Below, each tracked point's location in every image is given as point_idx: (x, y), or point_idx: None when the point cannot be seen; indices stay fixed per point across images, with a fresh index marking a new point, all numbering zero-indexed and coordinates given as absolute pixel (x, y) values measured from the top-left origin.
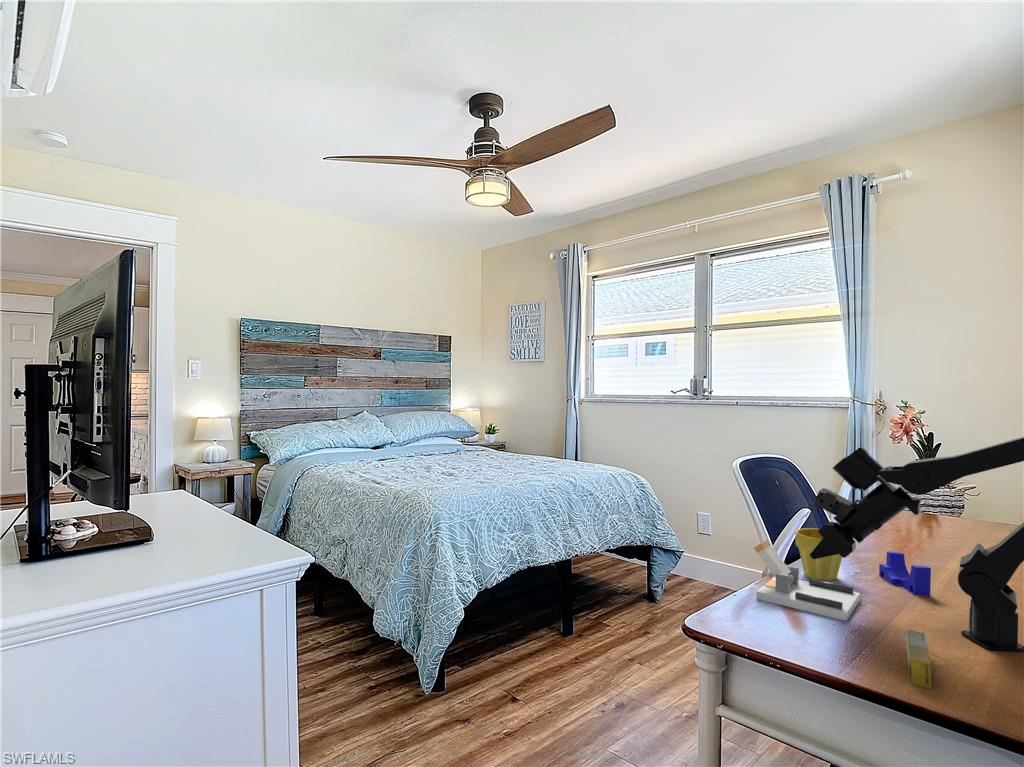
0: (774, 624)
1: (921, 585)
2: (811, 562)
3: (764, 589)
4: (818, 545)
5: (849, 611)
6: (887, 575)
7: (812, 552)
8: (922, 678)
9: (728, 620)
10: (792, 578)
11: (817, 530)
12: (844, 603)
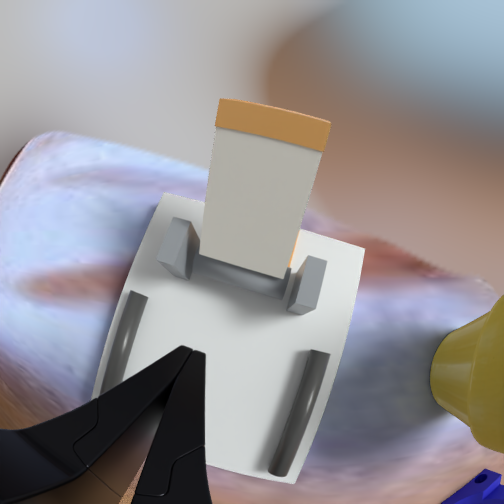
0: (40, 242)
1: None
2: (459, 349)
3: (188, 210)
4: (101, 396)
5: None
6: (465, 494)
7: (161, 360)
8: None
9: (49, 170)
10: (248, 287)
11: None
12: None
